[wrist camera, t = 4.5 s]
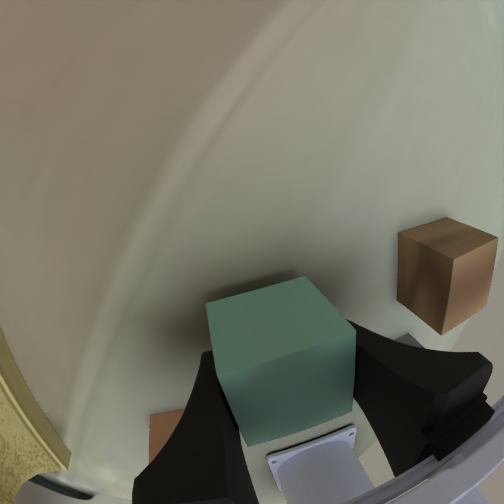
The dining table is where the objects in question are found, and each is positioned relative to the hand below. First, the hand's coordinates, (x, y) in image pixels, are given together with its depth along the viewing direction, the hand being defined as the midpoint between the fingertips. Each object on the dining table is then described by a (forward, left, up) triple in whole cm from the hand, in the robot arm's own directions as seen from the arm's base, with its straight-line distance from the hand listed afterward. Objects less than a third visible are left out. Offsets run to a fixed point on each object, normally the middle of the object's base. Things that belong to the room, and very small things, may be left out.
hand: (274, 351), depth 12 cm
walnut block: (0, -11, -3) cm, 11 cm away
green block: (0, 0, -2) cm, 2 cm away
